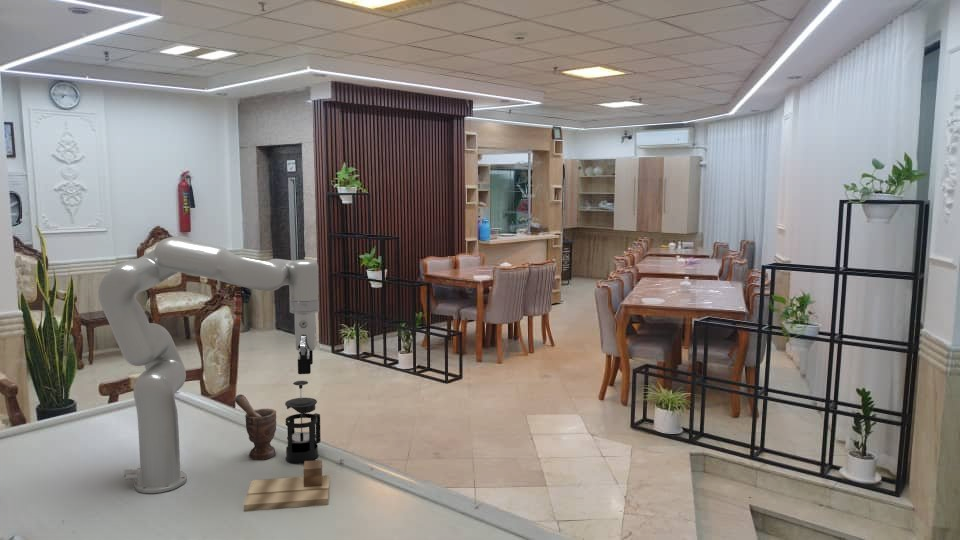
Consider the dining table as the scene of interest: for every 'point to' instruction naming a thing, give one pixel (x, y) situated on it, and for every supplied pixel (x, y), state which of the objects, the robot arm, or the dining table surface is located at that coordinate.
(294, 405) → the french press
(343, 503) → the dining table surface
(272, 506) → the laid board
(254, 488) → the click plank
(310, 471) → the walnut block
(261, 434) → the mortar and pestle
